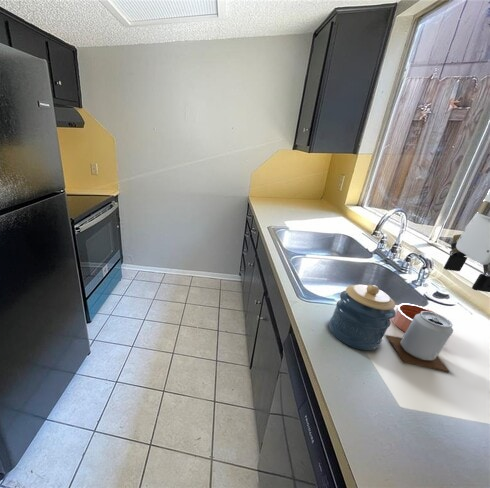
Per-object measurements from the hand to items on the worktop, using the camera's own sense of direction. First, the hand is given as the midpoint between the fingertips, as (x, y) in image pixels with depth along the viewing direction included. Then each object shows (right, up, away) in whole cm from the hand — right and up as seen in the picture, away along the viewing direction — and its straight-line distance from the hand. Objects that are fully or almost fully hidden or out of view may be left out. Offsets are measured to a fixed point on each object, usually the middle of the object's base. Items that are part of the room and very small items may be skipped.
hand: (465, 279), depth 63 cm
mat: (-3, -22, +10) cm, 24 cm away
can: (-3, -22, +10) cm, 24 cm away
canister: (-16, -19, +15) cm, 29 cm away
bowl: (+7, -18, +19) cm, 27 cm away
